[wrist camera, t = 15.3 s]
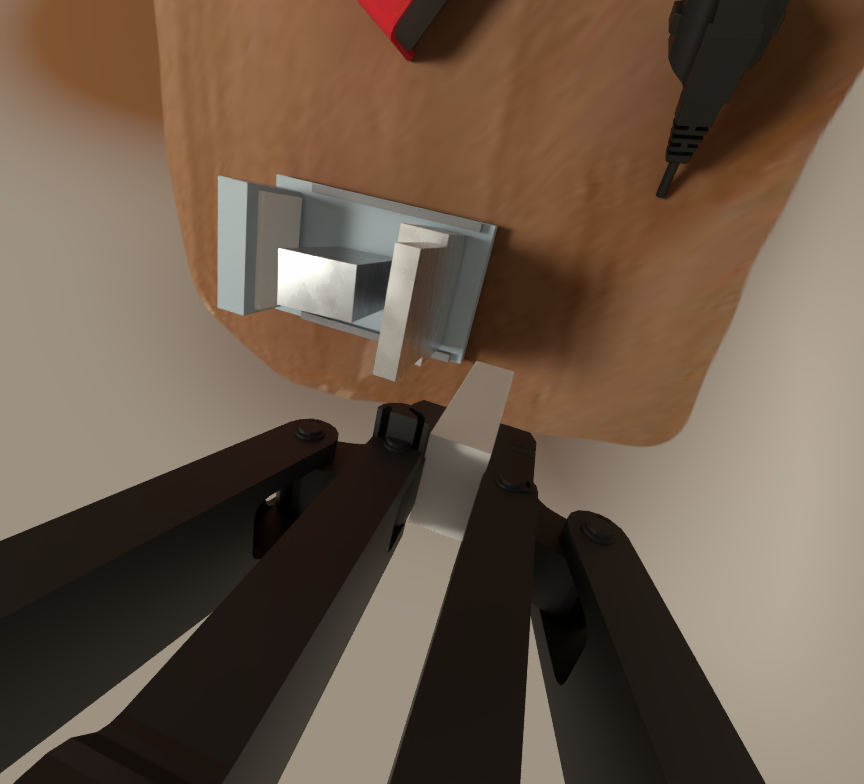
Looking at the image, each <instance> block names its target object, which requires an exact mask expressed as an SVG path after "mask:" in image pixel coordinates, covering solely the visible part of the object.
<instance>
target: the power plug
mask: <svg viewBox="0 0 864 784" xmlns="http://www.w3.org/2000/svg"><path fill="white" fill-rule="evenodd" d="M788 2H789V0H681V1H675V2H674V5H673V8H672V11H671V14H670V17H669V33H670V36H669V61H670V65H671V67H672V69H673V71H674V73H675V74H676V76H677V77H678V78H679V80H680V81H681V82H682V84H683V90H682V93H681V95H680V99H679V102H678V105H677V108H676V111H675V118H674V120H673V127H672V128H671V133H670V137H669V141H668V146H667V149H666V162H669V164H668V167H667V169H666V171H665V174H664V176H663V179H662V181H661V183H660V186H659V188H658V191H657V193H656V196H657V197H659V198H663V197H665V196H666V193H667V191H668V189H669V187H670V184H671V182H672V180H673V177H674V175H675V173H676V171H677V168H678V166H679V164H680V163H683V164H685V163H687V162H688V161H689V160H690V158H691V157H692V155H693V152H695V151H696V149H697V148H698V144H700V143H701V142H702V140H703V136H705V135H706V134H707V132H708V131H709V127H711V126H712V125H713V123H714V121H715V119H716V117H717V115H718V113H719V111H720V109H721V107H722V105H723V104H724V103H729V101H730V99H731V97H732V95H733V93H734V91H735V89H736V87H737V85H738V83H739V81H740V79H741V77H742V75H743V73H744V72H745V71H746V70H748V69H749V68H750V67H752V66H753V65H754V64H755V63H756V62H758V61H759V60H760V58H761V56H762V54H763V52H764V50H765V48H766V46H767V44H768V42H769V40H770V38H771V36H772V35H774V34H776V33H777V31H778V29H779V27H780V25H781V23H782V21H783V19H784V17H785V15H786V12H785V8H786V6H787V4H788Z"/></svg>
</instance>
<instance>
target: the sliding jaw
mask: <svg viewBox="0 0 864 784" xmlns="http://www.w3.org/2000/svg"><path fill="white" fill-rule="evenodd" d="M466 240H467V235H463V234H459V233H455V232H451V231H446V230H442V229H438V228H434V227H430V226H424V225H415V224H406V223H401V225H400V230H399V236H398V242H395V247H394V253H393V259H392V265H391V271H390V277H389V283H388V288H387V294H386V300H385V306H384V312H383V318H382V324H381V330H380V336H379V342H378V348H377V354H376V360H375V366H374V371H373V375H376V376H380V377H383V378H386V379H389V380H392V381H396V380H397V379H398V378H399V377H400V376H402V375H403V374H404V373H405V372H406V371H407V370H408V369H409V368H410V367H412V366H413V365H414V364H415V365H418V366H421V365H422V364H423V363H424V362H425V361H427V360H428V359H429V358H430V357H431V356H432V355H433V354H434V353H435V352H436V351H437V350H438V349H439V348H440V347H441V346H442V342H443V338H444V333H445V329H446V325H447V321H448V316H449V312H450V308H451V303H452V299H453V295H454V291H455V286H456V282H457V278H458V274H459V269H460V265H461V261H462V257H463V252H464V248H465V244H466Z"/></svg>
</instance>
